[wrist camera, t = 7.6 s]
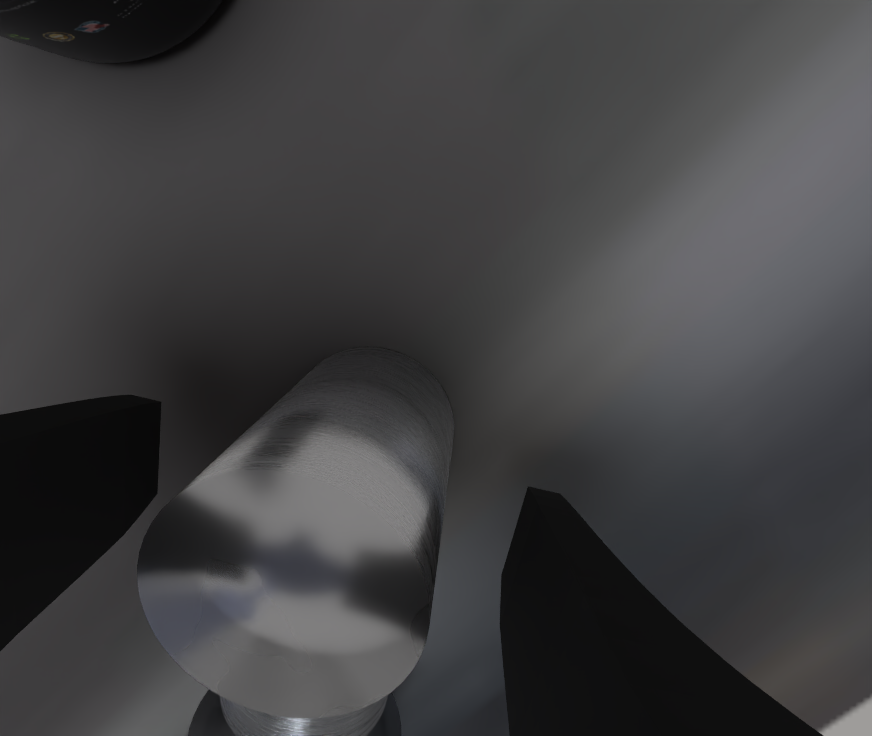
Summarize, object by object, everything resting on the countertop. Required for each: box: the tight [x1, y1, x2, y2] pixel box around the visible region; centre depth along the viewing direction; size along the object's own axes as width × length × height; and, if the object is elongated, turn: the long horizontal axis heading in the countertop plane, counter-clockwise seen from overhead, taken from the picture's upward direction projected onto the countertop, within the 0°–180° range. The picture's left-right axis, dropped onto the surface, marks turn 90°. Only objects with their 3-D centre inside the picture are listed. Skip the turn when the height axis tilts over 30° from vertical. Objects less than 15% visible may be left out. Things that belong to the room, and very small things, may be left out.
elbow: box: [137, 347, 454, 736], centre depth 10 cm, size 8×4×6 cm, turn 166°
